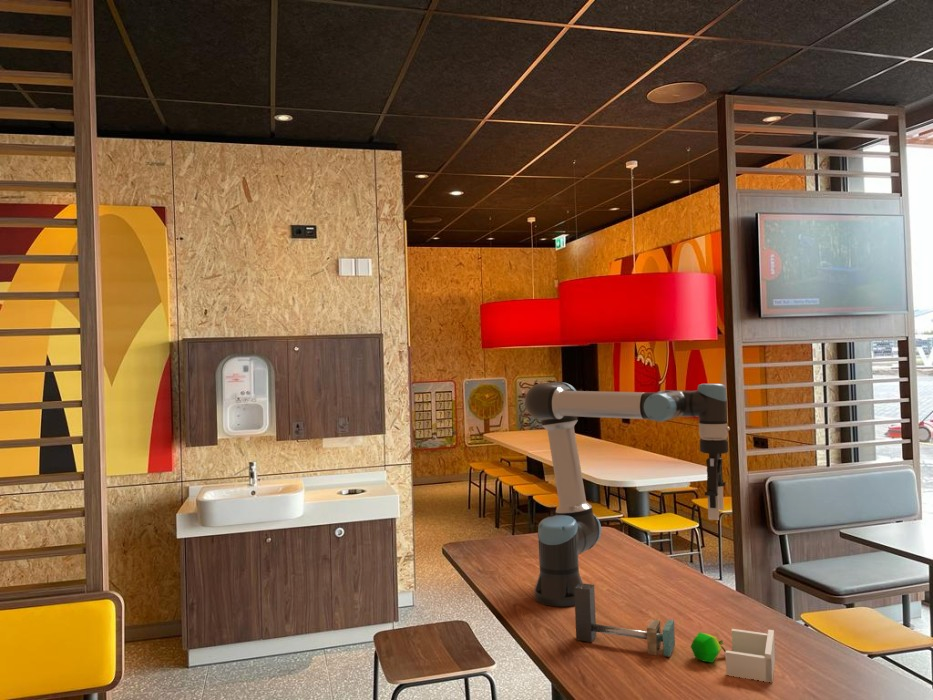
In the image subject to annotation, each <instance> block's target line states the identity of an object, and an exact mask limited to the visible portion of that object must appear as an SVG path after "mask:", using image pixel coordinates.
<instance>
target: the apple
mask: <svg viewBox="0 0 933 700" xmlns="http://www.w3.org/2000/svg"><path fill="white" fill-rule="evenodd" d="M722 645H724V641H723V640H719V641H718V638H717V636H713V635H711V634H709V633H705V632H698V633H697V635H696V636H695V638H693V640H692V643H691V645H690V648H691V651H692V653H693V655H694V657H695V658H696V659H698V660H701V661H703V662H708V663H714V661H715V659H716V658H717V657H718V655H719V654H720V651H721V649H722V650H723V651H724V653H725V652H726V649H725V647H723V646H722Z"/></svg>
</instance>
